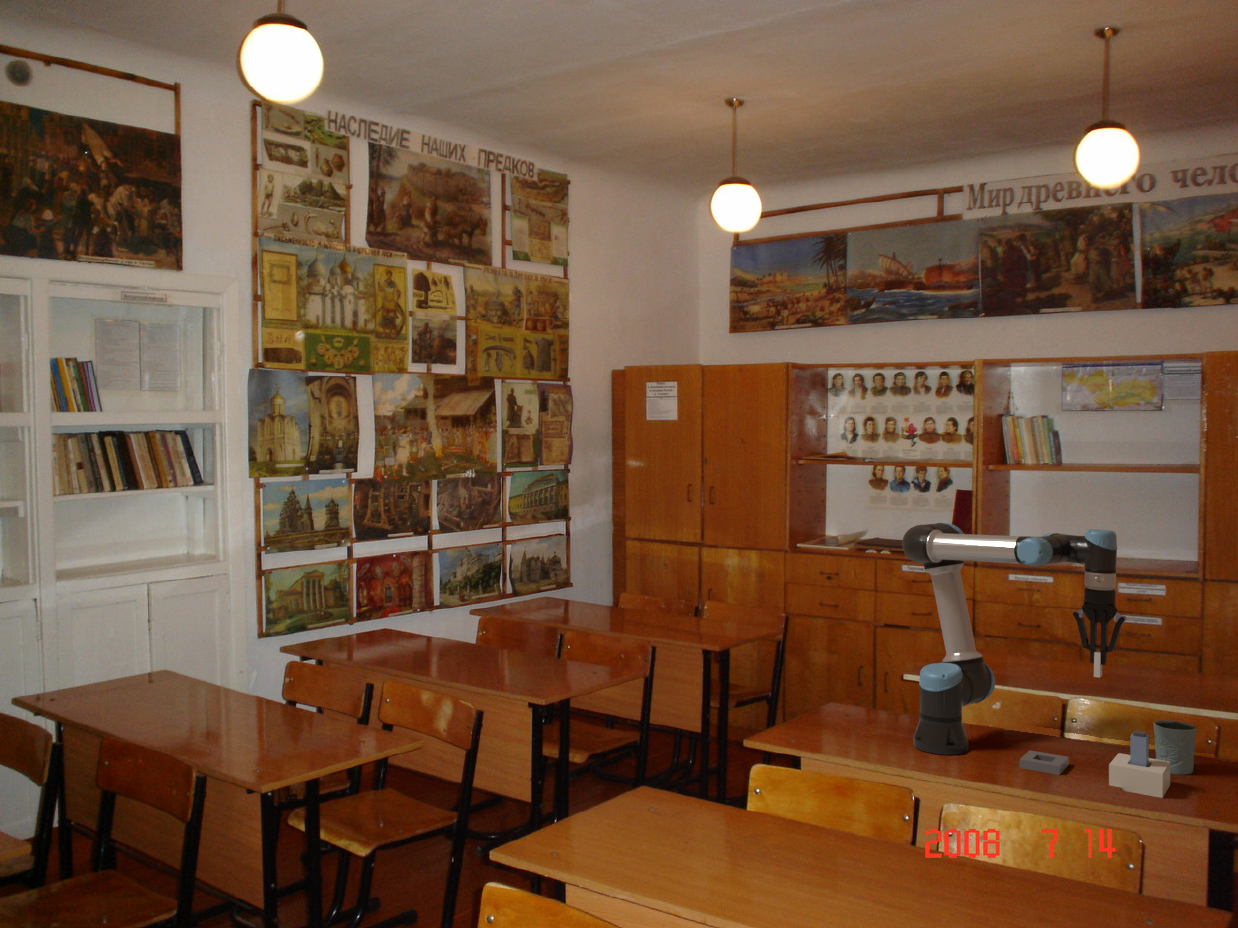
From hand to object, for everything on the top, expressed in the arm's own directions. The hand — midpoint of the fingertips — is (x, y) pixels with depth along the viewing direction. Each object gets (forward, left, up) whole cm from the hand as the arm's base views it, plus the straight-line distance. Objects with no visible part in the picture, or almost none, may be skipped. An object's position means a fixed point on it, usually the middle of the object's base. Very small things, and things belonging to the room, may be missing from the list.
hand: (1097, 676), depth 262 cm
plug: (+11, -6, -25) cm, 28 cm away
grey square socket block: (-12, -6, -26) cm, 29 cm away
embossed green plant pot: (+16, +15, -26) cm, 34 cm away
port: (+11, -6, -26) cm, 29 cm away
